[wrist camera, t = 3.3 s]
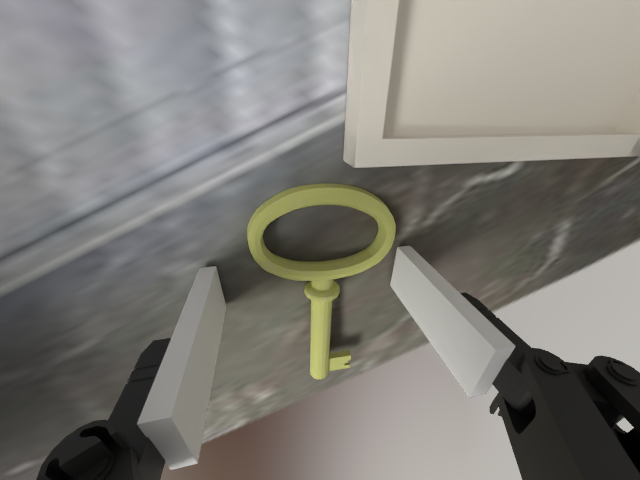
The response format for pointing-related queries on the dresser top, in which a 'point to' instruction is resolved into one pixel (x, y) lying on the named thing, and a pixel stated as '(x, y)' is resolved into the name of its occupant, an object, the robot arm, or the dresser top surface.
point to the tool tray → (491, 81)
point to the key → (321, 272)
